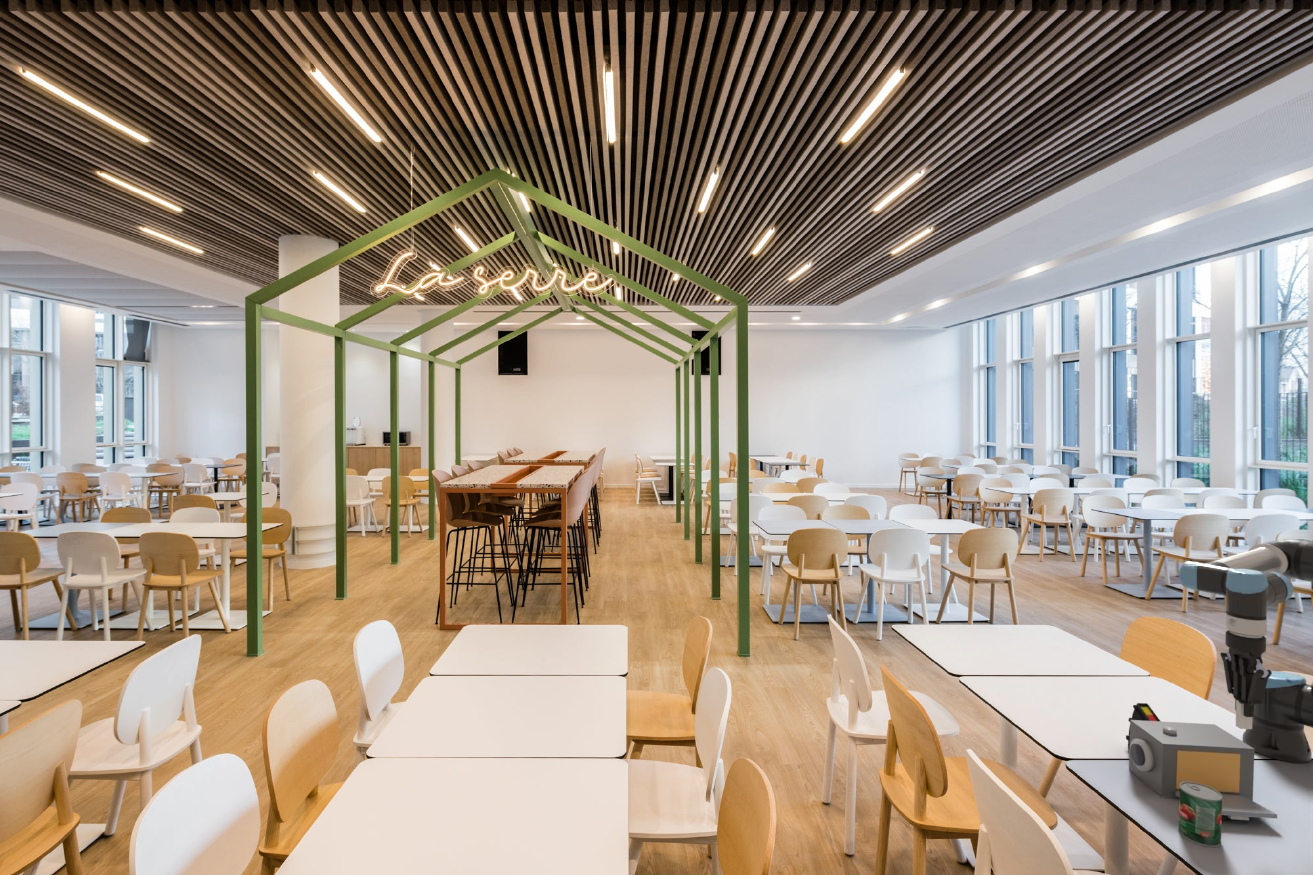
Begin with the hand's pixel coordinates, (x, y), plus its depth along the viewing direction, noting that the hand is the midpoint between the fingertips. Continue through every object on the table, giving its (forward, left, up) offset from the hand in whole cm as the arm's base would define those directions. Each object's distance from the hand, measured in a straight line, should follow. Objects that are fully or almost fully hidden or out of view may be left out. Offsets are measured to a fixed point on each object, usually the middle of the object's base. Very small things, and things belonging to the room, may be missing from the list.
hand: (1243, 727), depth 165 cm
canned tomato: (+16, +10, -23) cm, 29 cm away
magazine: (+5, -28, -23) cm, 37 cm away
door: (+3, -7, -20) cm, 22 cm away
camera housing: (+4, -14, -22) cm, 27 cm away
